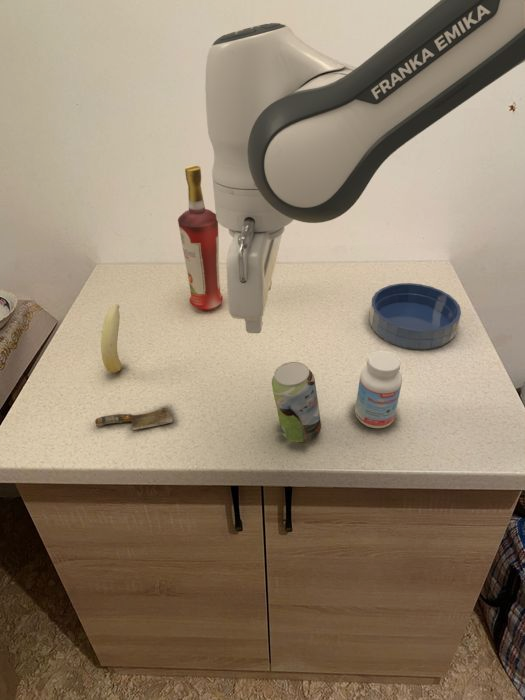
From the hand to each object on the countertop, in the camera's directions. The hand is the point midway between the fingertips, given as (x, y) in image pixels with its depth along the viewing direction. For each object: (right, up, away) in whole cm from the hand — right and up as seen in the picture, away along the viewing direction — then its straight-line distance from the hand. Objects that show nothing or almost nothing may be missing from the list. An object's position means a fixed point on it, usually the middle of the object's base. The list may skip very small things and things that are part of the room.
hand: (259, 308), depth 63 cm
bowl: (+29, 0, +34) cm, 45 cm away
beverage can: (+5, -18, +13) cm, 23 cm away
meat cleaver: (-19, -16, +15) cm, 30 cm away
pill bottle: (+18, -16, +16) cm, 28 cm away
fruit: (-25, -9, +25) cm, 36 cm away
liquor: (-11, +4, +41) cm, 43 cm away
